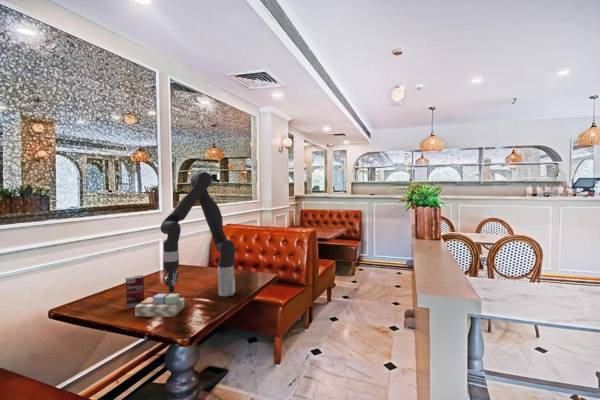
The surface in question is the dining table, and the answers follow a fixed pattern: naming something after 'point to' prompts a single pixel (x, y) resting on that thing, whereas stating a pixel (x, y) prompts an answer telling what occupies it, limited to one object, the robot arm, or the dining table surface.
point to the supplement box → (134, 291)
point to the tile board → (159, 309)
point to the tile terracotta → (147, 301)
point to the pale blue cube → (159, 299)
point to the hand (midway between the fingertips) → (171, 292)
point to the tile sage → (172, 299)
